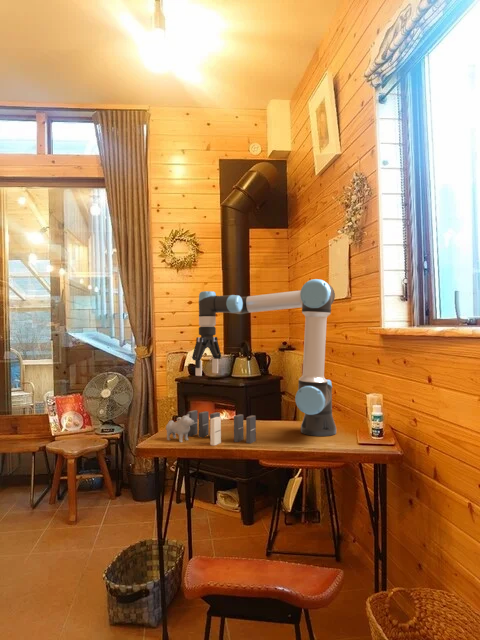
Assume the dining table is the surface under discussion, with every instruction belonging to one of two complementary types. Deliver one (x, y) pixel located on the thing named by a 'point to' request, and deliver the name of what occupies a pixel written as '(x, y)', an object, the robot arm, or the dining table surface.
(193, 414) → the domino
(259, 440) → the dining table surface
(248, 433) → the domino
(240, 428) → the domino
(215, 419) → the cream domino
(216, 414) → the domino
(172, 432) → the grey dog figurine
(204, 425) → the domino
